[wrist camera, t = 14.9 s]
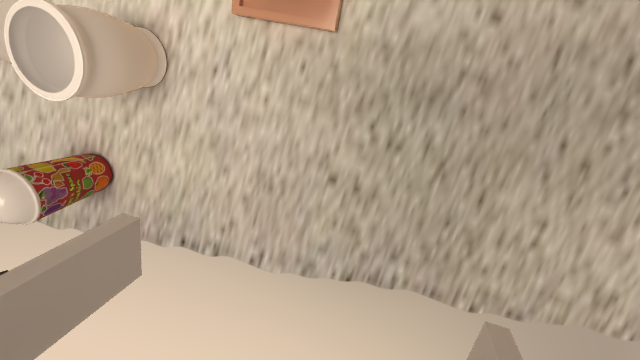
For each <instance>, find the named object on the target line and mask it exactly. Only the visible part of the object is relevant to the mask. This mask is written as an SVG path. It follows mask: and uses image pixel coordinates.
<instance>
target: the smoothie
mask: <svg viewBox="0 0 640 360" xmlns="http://www.w3.org/2000/svg"><path fill="white" fill-rule="evenodd" d="M111 178H112V172H111V168H110V167H109V165H108V163H107V162H106V161H105V160H104V159H103V158H101V157H99V156H96V155H91V154H82V155H77V156H71V157H66V158H61V159H55V160H50V161H45V162H39V163H34V164H29V165H23V166H18V167H13V168H8V169H0V222H1V223H8V224H26V225H27V224H31V223H34V222H35V221H36V220H39V219H41V218H43V217H45V216H47V215H49V214H52V213H54V212H56V211H58V210H60V209H62V208H64V207H66V206H69V205H71V204H73V203H75V202H77V201H79V200H81V199H83V198H86V197H88V196H90V195H92V194H94V193H96V192H98V191H100V190H103V189H104V188H105V187H106V186H107V184H108V183H109V182H110V181H111Z"/></svg>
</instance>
